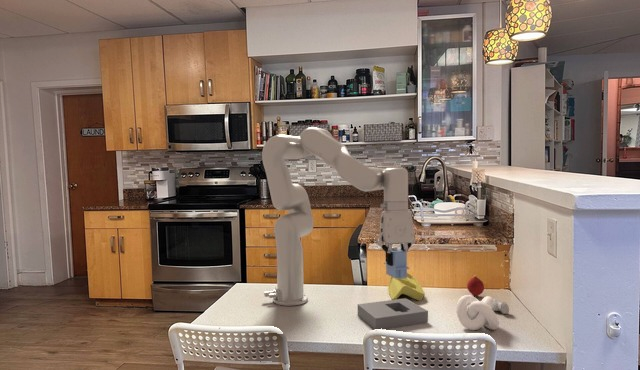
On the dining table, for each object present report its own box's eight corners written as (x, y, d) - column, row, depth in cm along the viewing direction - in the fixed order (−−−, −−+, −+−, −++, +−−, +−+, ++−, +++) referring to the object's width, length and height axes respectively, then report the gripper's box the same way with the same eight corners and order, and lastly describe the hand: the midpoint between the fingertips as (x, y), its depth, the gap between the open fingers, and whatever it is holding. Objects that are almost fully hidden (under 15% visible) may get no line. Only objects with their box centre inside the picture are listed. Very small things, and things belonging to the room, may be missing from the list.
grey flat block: (375, 330, 118) (375, 318, 118) (357, 315, 131) (357, 304, 130) (427, 322, 124) (427, 311, 124) (405, 308, 136) (405, 298, 136)
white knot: (463, 316, 129) (464, 289, 129) (504, 324, 122) (504, 295, 122) (453, 328, 120) (453, 298, 120) (496, 337, 113) (496, 306, 113)
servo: (398, 279, 122) (397, 251, 122) (383, 272, 131) (383, 245, 131) (409, 278, 123) (409, 250, 123) (394, 271, 132) (394, 245, 132)
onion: (485, 295, 150) (485, 274, 149) (482, 300, 145) (482, 278, 144) (468, 293, 153) (469, 272, 152) (465, 297, 148) (465, 276, 148)
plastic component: (426, 295, 144) (401, 283, 143) (416, 312, 144) (392, 301, 144) (414, 276, 163) (392, 265, 163) (406, 291, 164) (384, 281, 164)
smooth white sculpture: (484, 311, 137) (497, 305, 138) (500, 319, 129) (513, 313, 130) (481, 299, 137) (493, 294, 138) (496, 307, 129) (509, 301, 130)
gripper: (377, 209, 120) (377, 269, 121) (425, 206, 125) (425, 264, 126) (366, 207, 127) (367, 264, 128) (412, 204, 133) (412, 259, 133)
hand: (396, 263), depth 127 cm, fingers closed on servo, 4 cm apart
